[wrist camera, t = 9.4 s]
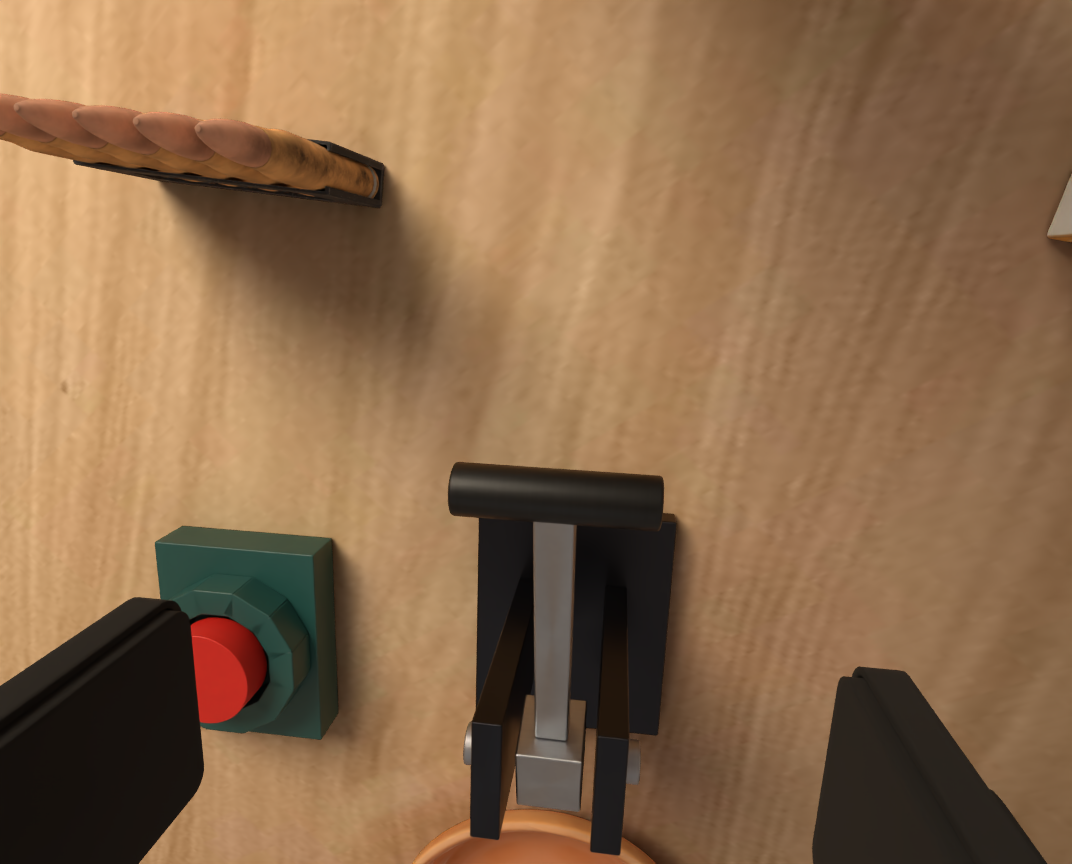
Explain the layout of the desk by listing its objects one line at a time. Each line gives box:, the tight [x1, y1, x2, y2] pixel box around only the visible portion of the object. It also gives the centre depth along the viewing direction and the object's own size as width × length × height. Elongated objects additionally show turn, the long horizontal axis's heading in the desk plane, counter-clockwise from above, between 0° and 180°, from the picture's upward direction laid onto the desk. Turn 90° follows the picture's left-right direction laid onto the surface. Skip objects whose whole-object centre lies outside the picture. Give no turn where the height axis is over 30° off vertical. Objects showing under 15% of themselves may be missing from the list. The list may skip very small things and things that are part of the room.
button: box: [191, 617, 267, 723], centre depth 31 cm, size 4×4×2 cm
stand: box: [463, 513, 677, 856], centre depth 28 cm, size 11×9×12 cm
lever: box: [448, 462, 664, 812], centre depth 21 cm, size 13×6×2 cm, turn 179°
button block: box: [155, 526, 338, 740], centre depth 34 cm, size 10×8×4 cm
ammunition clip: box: [0, 94, 384, 208], centre depth 24 cm, size 11×2×12 cm, turn 83°
